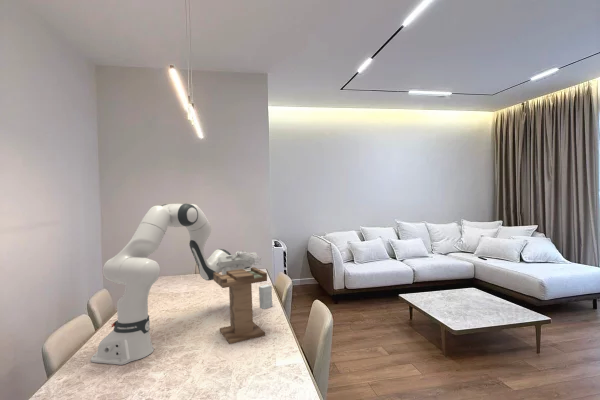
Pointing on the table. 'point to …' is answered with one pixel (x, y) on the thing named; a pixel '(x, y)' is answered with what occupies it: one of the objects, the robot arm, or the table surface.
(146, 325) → the robot arm
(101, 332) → the table surface
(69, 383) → the table surface
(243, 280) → the walnut pedestal
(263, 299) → the skincare box
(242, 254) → the aluminium bar
